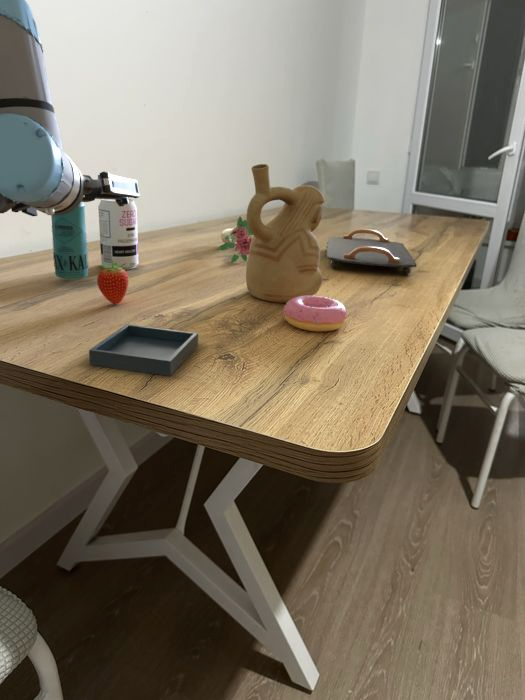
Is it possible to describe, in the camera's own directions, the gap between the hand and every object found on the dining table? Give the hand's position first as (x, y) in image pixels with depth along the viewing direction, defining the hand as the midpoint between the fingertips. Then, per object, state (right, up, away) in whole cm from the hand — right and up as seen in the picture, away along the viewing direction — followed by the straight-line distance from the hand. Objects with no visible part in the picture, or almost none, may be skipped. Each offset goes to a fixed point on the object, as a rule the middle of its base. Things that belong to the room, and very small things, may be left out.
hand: (77, 202), depth 83 cm
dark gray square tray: (+14, -25, -11) cm, 30 cm away
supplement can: (-3, -5, +37) cm, 37 cm away
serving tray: (+59, +1, +62) cm, 86 cm away
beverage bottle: (-9, -10, +21) cm, 25 cm away
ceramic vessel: (+33, -13, +22) cm, 42 cm away
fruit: (+3, -16, +10) cm, 19 cm away
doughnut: (+39, -20, +6) cm, 44 cm away
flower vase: (+23, +1, +55) cm, 60 cm away
